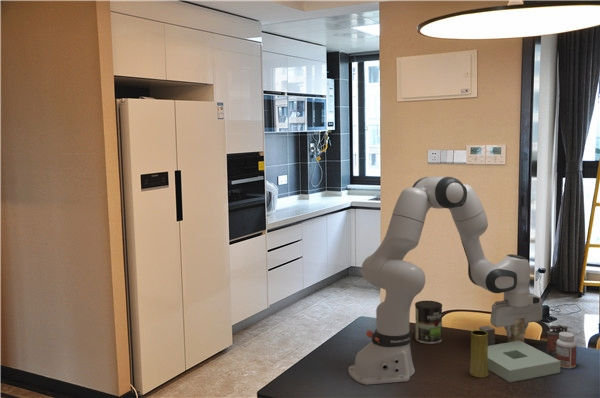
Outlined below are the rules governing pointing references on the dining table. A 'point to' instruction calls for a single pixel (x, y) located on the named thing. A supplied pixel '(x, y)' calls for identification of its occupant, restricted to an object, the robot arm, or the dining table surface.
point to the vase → (479, 354)
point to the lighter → (554, 337)
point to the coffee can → (428, 322)
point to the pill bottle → (566, 350)
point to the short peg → (489, 334)
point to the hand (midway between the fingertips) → (516, 335)
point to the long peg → (517, 331)
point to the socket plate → (520, 361)
